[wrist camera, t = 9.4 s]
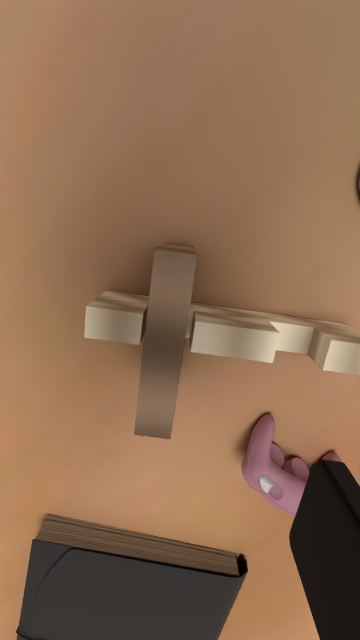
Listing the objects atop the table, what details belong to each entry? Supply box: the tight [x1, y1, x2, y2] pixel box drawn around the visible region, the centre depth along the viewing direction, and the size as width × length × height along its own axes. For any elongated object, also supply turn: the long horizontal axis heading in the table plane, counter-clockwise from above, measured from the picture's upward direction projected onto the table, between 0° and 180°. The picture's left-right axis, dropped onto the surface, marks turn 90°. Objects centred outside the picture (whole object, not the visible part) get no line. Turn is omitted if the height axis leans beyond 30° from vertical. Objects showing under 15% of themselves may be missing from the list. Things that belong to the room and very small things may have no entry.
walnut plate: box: [134, 243, 198, 439], centre depth 23 cm, size 12×2×10 cm, turn 172°
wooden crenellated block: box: [84, 290, 360, 375], centre depth 25 cm, size 22×2×6 cm, turn 82°
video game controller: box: [242, 414, 341, 517], centre depth 30 cm, size 10×5×7 cm, turn 58°
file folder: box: [16, 514, 248, 640], centre depth 39 cm, size 33×4×24 cm
